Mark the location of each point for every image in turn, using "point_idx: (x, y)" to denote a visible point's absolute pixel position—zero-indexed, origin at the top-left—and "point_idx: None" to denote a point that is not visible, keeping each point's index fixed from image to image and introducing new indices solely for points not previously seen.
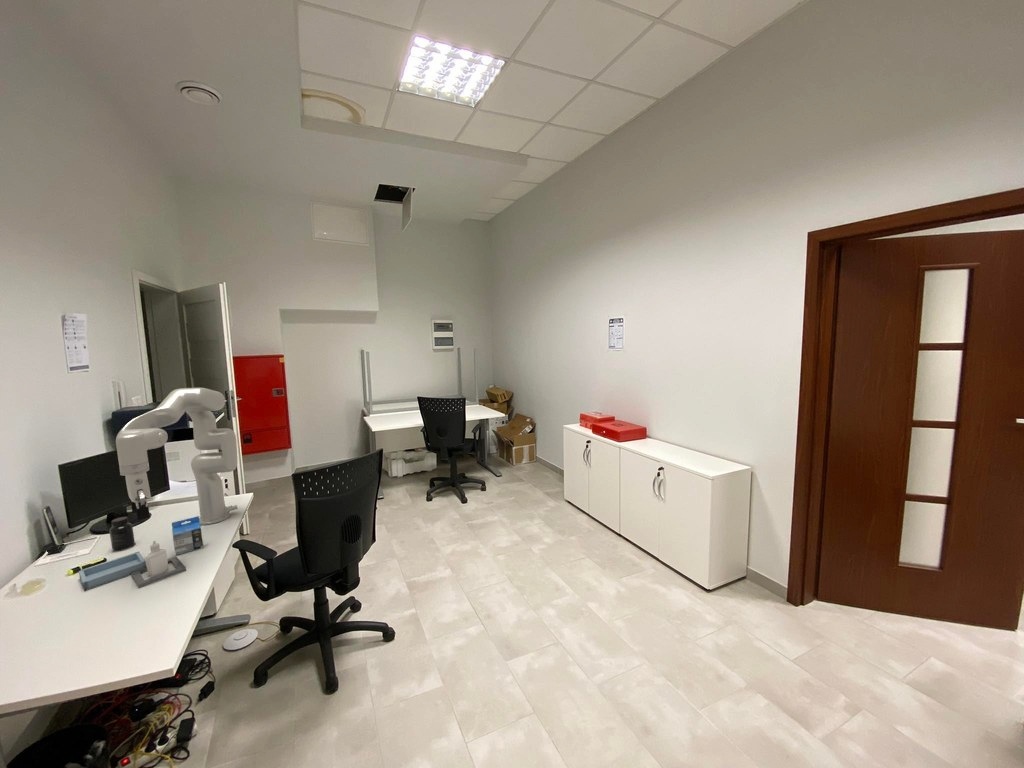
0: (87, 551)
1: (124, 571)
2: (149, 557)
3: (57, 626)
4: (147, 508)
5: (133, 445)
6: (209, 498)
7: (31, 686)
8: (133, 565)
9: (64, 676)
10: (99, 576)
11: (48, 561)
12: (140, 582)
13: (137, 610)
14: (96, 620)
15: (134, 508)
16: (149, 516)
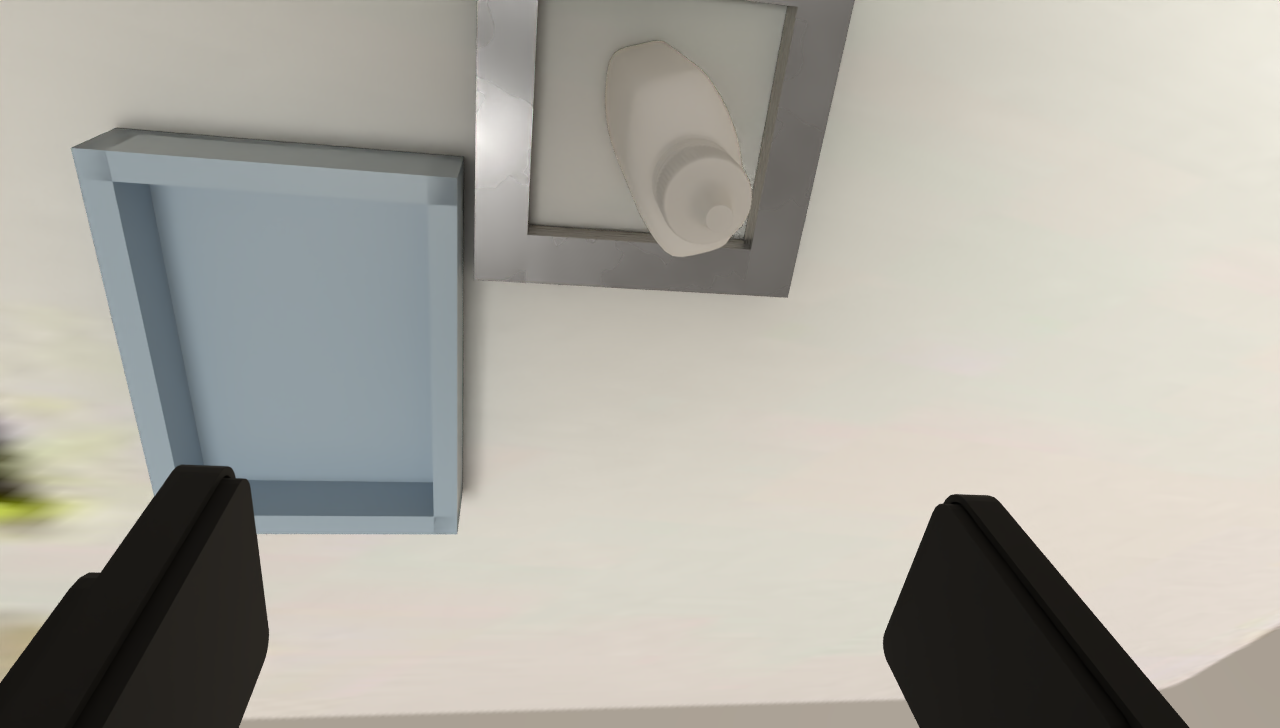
0: None
1: (459, 318)
2: (728, 239)
3: (797, 596)
4: (1139, 697)
5: None
6: None
7: (1163, 656)
8: (457, 269)
9: (1231, 598)
10: (445, 461)
11: None
12: (763, 277)
13: (1065, 354)
14: (934, 492)
15: (223, 720)
16: (994, 497)
